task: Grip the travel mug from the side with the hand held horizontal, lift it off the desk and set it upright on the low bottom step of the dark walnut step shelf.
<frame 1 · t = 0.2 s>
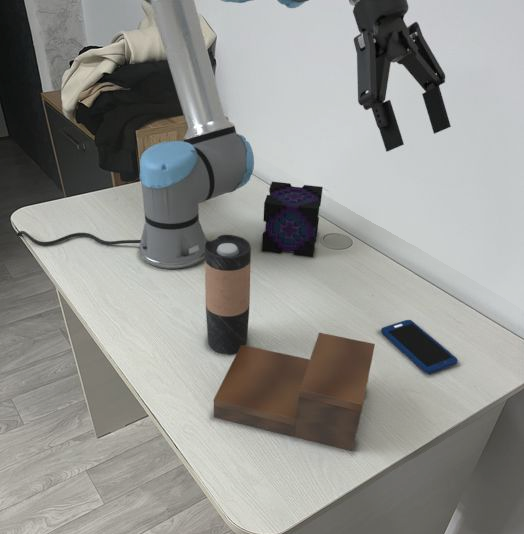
hand: (419, 139, 84), 35 cm above the table, tool tilted 35°, fingers open, 13 cm apart
travel mug: (227, 342, 100), on the table
cell phone: (417, 347, 101), on the table
energy cube: (290, 242, 130), on the table
walnut shelf: (291, 402, 88), on the table
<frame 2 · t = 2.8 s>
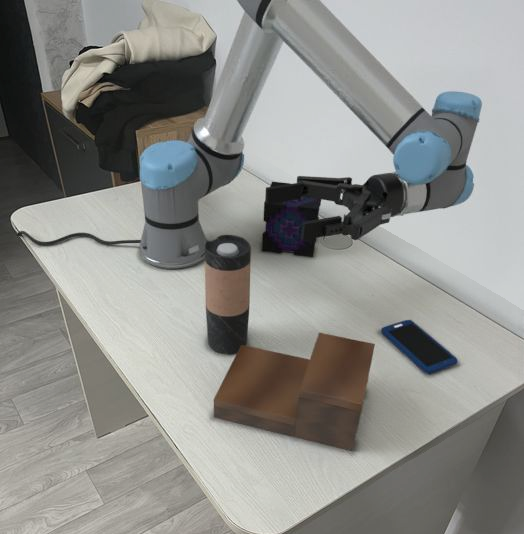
hand: (283, 212, 87), 24 cm above the table, tool horizontal, fingers open, 13 cm apart
nothing on the table moved.
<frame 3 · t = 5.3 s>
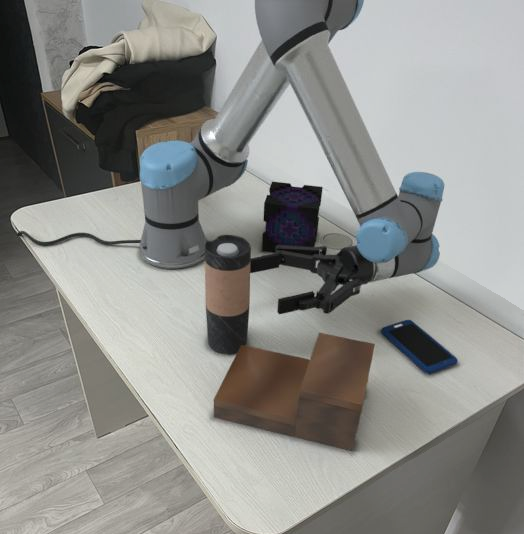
hand: (261, 285, 95), 11 cm above the table, tool horizontal, fingers open, 13 cm apart
nothing on the table moved.
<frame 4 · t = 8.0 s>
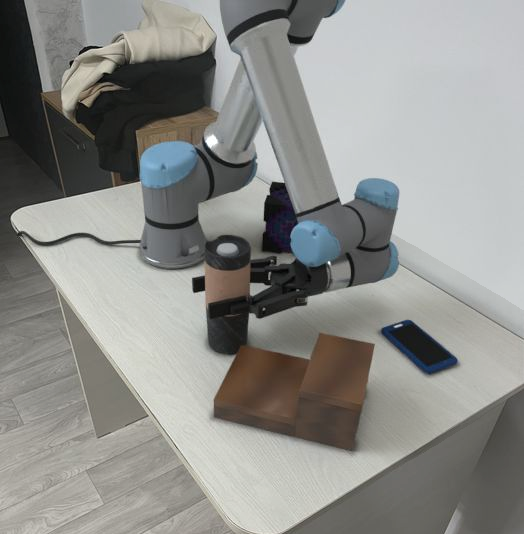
hand: (200, 298, 91), 11 cm above the table, tool horizontal, fingers closed on travel mug, 7 cm apart
travel mug: (227, 342, 100), on the table, touching gripper
everything else where it was.
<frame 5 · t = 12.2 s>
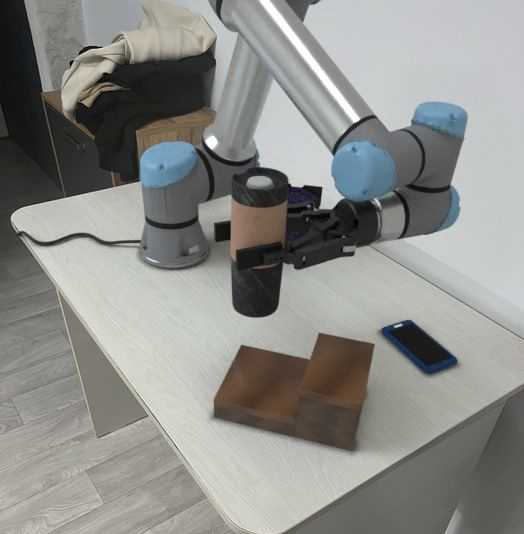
hand: (225, 245, 74), 26 cm above the table, tool horizontal, fingers closed on travel mug, 7 cm apart
travel mug: (255, 305, 83), point 15 cm above the table, touching gripper
everything else where it was.
when the fingers open (15 cm above the table, at t = 16.3 s): travel mug stays where it is, resting on walnut shelf.
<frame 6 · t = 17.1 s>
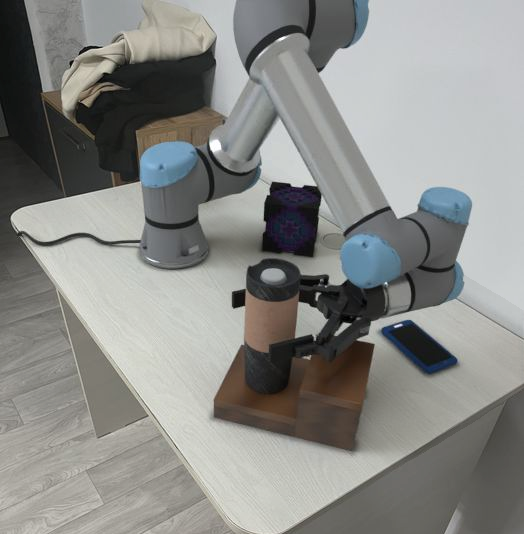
hand: (249, 325, 78), 16 cm above the table, tool horizontal, fingers open, 13 cm apart
travel mug: (266, 379, 87), point 4 cm above the table, touching walnut shelf
everything else where it was.
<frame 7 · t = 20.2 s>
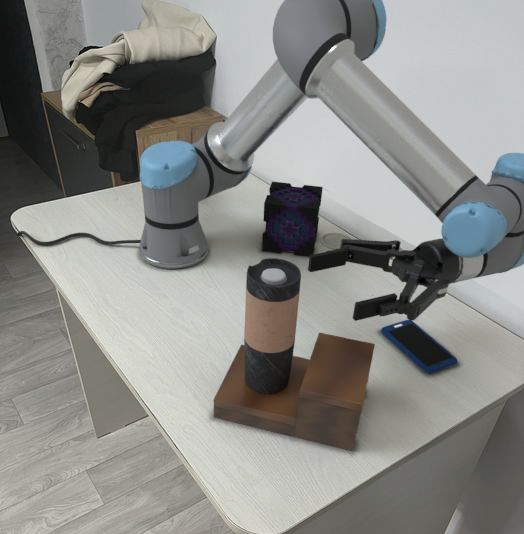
hand: (331, 286, 80), 19 cm above the table, tool horizontal, fingers open, 13 cm apart
nothing on the table moved.
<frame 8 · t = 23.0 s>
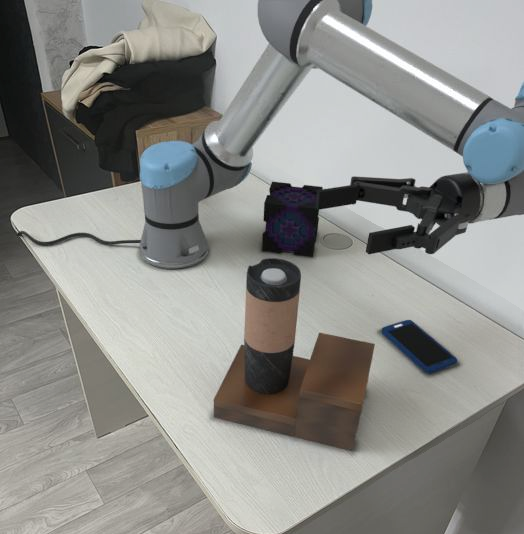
hand: (341, 220, 73), 30 cm above the table, tool horizontal, fingers open, 13 cm apart
nothing on the table moved.
at the end: travel mug inside the target area on the walnut shelf (0.0 cm from its centre), point 3.8 cm above the walnut shelf's base; travel mug tilted 0°; the gripper is holding nothing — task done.
